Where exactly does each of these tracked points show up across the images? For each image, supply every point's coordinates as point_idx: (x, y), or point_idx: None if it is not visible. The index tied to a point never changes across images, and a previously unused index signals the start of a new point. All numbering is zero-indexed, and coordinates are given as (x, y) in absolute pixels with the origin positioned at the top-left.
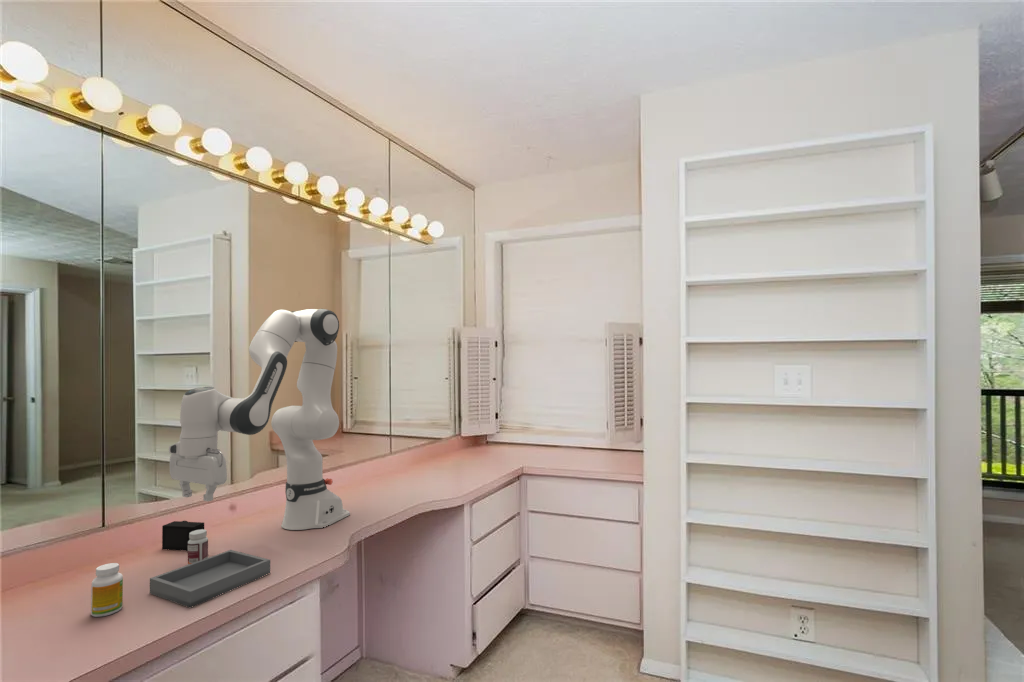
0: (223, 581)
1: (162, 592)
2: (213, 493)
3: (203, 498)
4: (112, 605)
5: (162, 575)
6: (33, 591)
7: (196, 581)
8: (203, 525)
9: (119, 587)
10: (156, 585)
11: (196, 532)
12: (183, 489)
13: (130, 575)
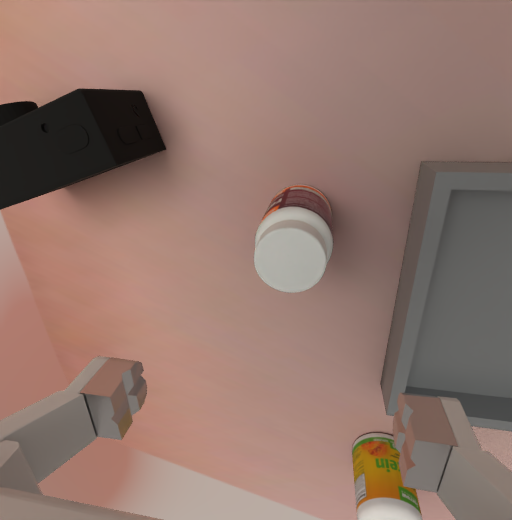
0: None
1: None
2: (489, 453)
3: (398, 450)
4: None
5: None
6: (136, 427)
7: (474, 331)
8: (92, 96)
9: (417, 498)
10: None
11: (291, 270)
12: (82, 445)
13: (213, 334)
